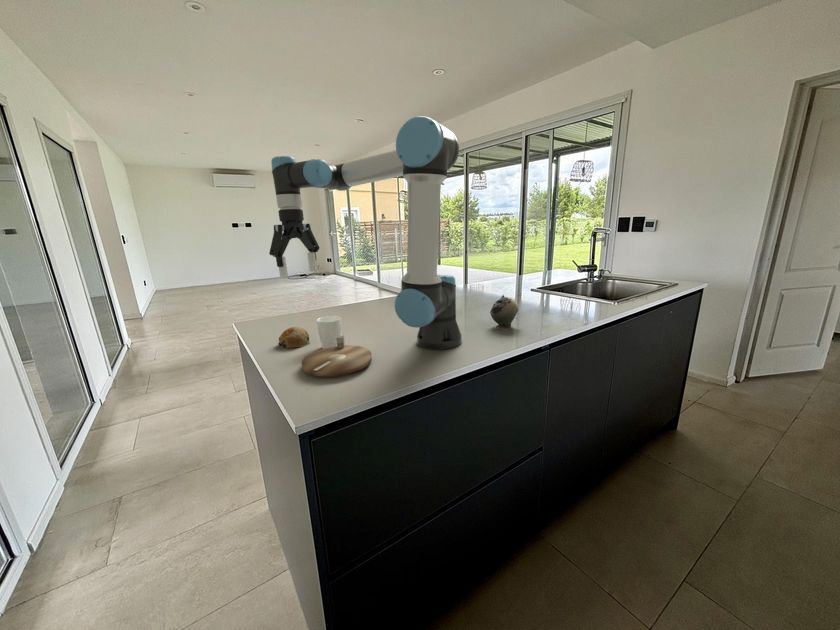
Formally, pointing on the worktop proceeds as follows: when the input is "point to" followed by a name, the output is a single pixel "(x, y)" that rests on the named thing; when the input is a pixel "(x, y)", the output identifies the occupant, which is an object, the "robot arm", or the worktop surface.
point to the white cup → (329, 330)
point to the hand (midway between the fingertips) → (299, 273)
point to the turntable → (336, 359)
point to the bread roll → (294, 338)
